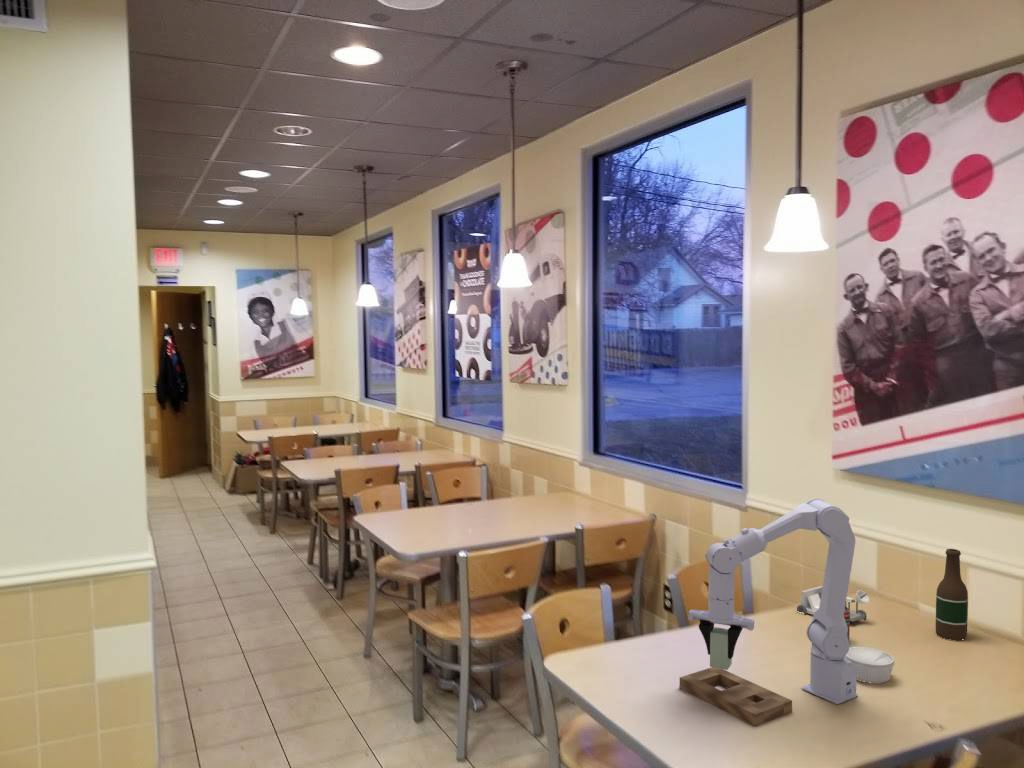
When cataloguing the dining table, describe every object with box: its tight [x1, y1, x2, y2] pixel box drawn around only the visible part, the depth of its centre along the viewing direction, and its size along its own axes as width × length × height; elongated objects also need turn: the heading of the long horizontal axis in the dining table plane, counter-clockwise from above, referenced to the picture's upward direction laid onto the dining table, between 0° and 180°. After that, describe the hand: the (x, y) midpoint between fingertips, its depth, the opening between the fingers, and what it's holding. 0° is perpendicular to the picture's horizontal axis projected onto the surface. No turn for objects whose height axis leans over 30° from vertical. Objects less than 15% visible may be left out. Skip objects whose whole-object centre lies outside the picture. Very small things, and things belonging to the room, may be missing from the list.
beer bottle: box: [935, 548, 969, 641], centre depth 214 cm, size 8×8×24 cm
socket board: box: [679, 667, 793, 727], centre depth 176 cm, size 22×12×2 cm, turn 33°
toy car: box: [796, 585, 870, 622], centre depth 229 cm, size 18×10×12 cm
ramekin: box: [845, 646, 895, 684], centre depth 189 cm, size 11×11×5 cm
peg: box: [709, 626, 733, 671], centre depth 179 cm, size 4×4×8 cm
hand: (720, 655), depth 179 cm, fingers closed on peg, 4 cm apart
